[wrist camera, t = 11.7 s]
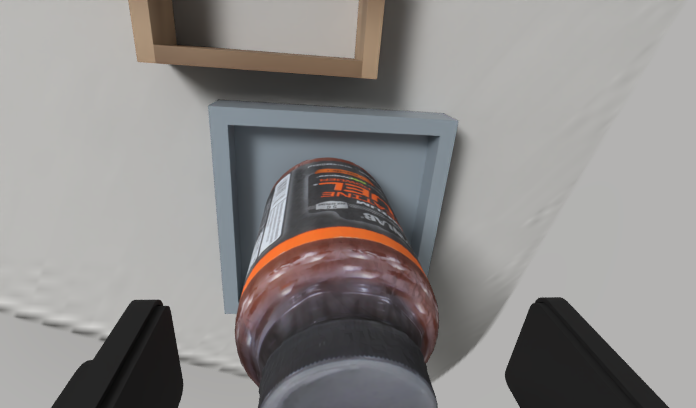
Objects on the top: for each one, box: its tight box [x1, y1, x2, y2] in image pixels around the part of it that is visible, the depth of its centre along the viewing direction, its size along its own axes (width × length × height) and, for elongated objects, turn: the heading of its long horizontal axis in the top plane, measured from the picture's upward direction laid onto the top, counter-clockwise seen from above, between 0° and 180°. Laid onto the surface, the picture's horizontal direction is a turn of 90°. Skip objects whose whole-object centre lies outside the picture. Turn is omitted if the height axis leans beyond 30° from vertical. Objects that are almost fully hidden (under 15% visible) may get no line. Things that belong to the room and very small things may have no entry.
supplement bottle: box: [235, 157, 439, 408], centre depth 13 cm, size 6×6×11 cm
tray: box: [208, 100, 458, 314], centre depth 18 cm, size 10×10×2 cm
